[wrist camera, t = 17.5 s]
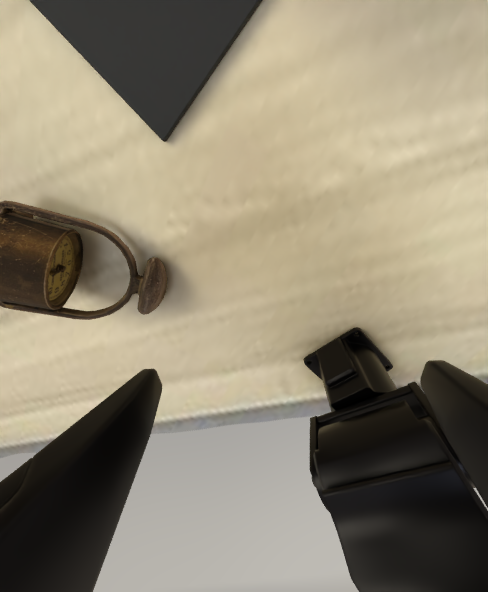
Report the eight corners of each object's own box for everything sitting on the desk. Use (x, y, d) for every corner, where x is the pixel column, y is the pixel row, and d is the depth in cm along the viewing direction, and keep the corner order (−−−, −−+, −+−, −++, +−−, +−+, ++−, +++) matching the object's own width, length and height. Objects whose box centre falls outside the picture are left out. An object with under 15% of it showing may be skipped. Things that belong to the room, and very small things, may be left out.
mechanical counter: (-45, 138, 12) (-112, 279, 14) (156, 295, 14) (73, 398, 16) (61, 172, 19) (6, 263, 21) (185, 274, 21) (124, 348, 23)
